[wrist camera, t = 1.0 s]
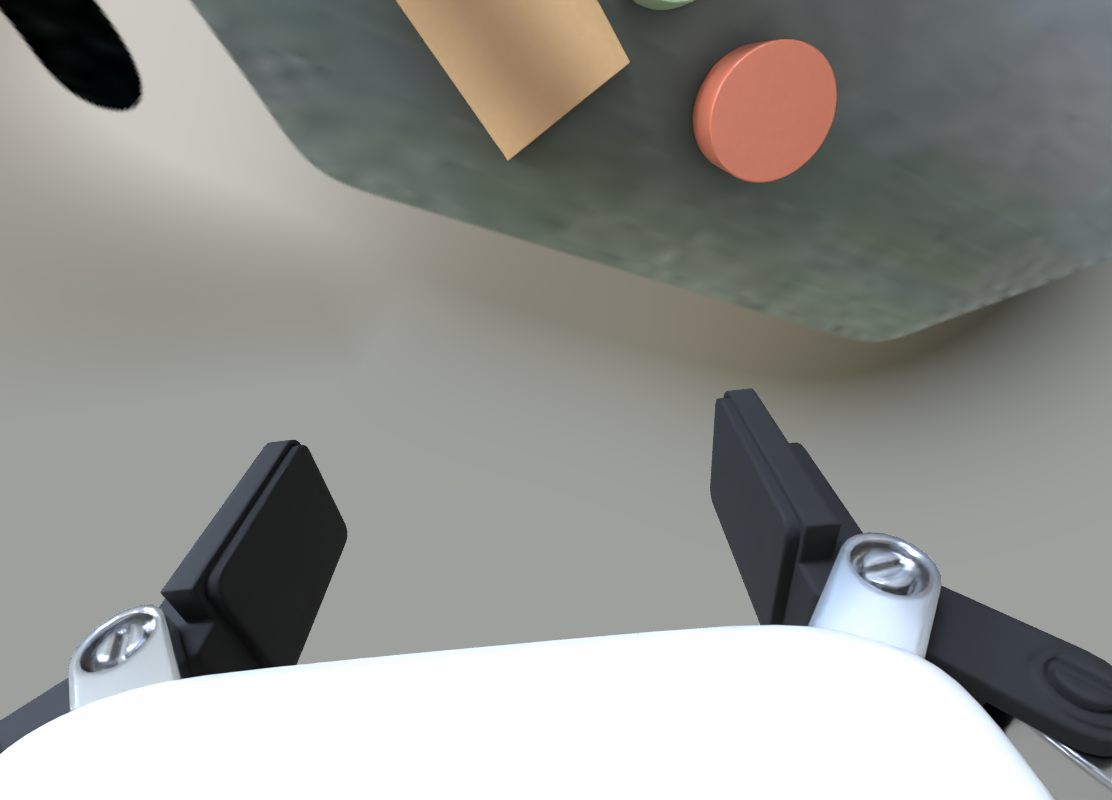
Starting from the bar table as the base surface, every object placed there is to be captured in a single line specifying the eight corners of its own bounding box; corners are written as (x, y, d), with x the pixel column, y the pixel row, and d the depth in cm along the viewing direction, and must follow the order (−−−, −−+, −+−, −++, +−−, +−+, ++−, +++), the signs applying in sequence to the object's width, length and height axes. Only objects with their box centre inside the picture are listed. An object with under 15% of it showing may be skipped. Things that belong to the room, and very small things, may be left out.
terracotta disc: (780, 12, 27) (811, 5, 24) (822, 125, 30) (854, 132, 27) (672, 95, 29) (687, 98, 26) (722, 194, 32) (741, 207, 29)
